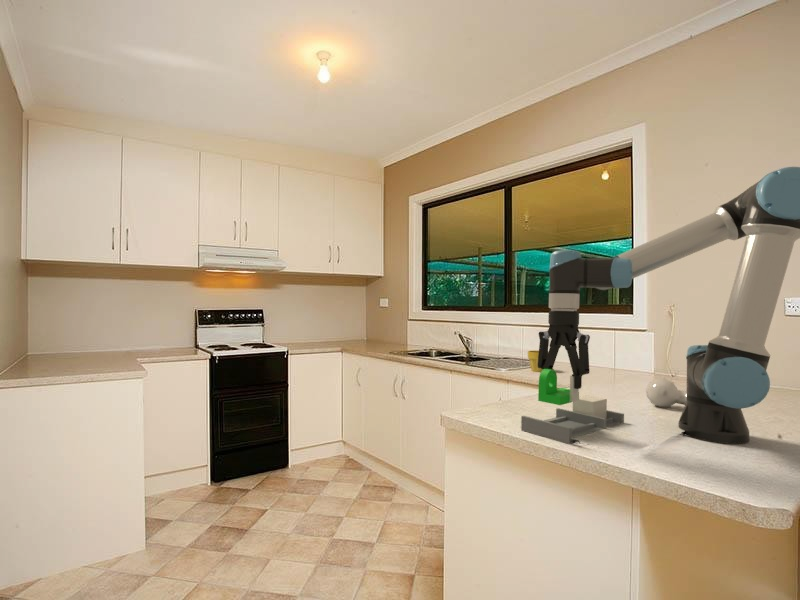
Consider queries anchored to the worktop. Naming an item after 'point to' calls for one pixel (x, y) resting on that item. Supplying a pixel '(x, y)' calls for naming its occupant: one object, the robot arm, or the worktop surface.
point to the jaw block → (591, 406)
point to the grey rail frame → (569, 424)
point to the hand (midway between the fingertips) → (561, 398)
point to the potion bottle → (665, 393)
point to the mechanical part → (552, 389)
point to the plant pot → (534, 360)
